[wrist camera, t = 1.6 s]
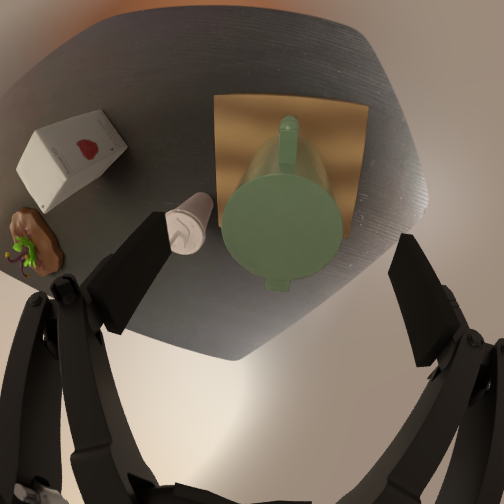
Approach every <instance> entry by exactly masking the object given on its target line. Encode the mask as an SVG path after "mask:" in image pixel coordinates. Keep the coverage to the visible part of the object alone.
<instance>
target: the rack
mask: <svg viewBox="0 0 504 504" xmlns="http://www.w3.org/2000/svg"><path fill="white" fill-rule="evenodd" d="M368 111H369V107H368V106H365V105H362V104H358V103H354V102H350V101H346V100H340V99H333V98H325V97H317V96H307V95H295V94H280V93H229V94H220V95H214V128H215V159H216V183H217V203H218V221H219V227H221V219H222V214H223V210H224V207H225V205H226V203H227V201H228V200H229V198H230V196H231V194H232V192H233V191H234V189H235V187H236V185H237V184H238V182H239V180H240V178H241V177H242V175H243V173H244V171H245V170H246V168H247V166H248V165H249V163H250V161H251V159H252V158H253V156H254V154H255V153H256V151H257V149H258V148H259V147H260V146H261V145H262V144H263V143H264V142H265V141H266V140H268V139H270V138H272V137H274V136H278V135H279V125H280V123H281V120H282V118H283V116H284V115H285V114H286V113H289V112H291V113H294V114H296V115H297V117H298V121H299V129H300V131H299V134H298V136H300V137H302V138H305V139H306V140H308V141H310V142H311V143H312V144H313V145H314V146H315V147H316V148H317V149H318V151H319V152H320V154H321V156H322V159H323V162H324V164H325V167H326V170H327V173H328V176H329V179H330V181H331V184H332V187H333V190H334V193H335V196H336V199H337V203H338V206H339V209H340V212H341V215H342V220H343V238H347V239H348V236H349V232H350V227H351V222H352V217H353V212H354V207H355V202H356V197H357V191H358V185H359V180H360V173H361V167H362V160H363V153H364V146H365V138H366V130H367V121H368Z"/></svg>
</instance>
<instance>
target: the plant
mask: <svg viewBox="0 0 504 504" xmlns="http://www.w3.org/2000/svg"><path fill="white" fill-rule="evenodd" d="M10 230H11V233H12V236H13V239H14V242H15V244H14V246H13V249H14V250H16V251H19V252H20V254H19V255H18V257H16V258H15V259H14V260H12V261H10V260H9V258H10V253H9V252H6V254H5V258H6V260H7V261H8V263H15V262H17V261H19V260H21V263H20V270H21V273H22V275H23V276H24V277H25V278H29V277H30V275H29V274H28V273H27V274H26V275H24V274H23V264H24V266H25V267H26V266H27V265H29V266H30V267H32V268H33V269H34V270H35V271H36V273H37V274H39V275H40V276H43V277H45V276H47V275H48V274H50V273H52V272H57V271H58V270H59V269H60V268H61V267H62V263H63V255H64V253H63V252H62V251H61V250H60V248H59V246H58V244H57V239H56V237H55V235H54V234H53V233H52V231H51V230H50V229H49V227H48V226H47V225H46V223H45V222H44V221H43V219H42V217H41V216H40V214H39V213H38V211H37V210H36V209H28V208H22V209H20V210H19V211H18V212H16V213H15V214H14V215H13V216H12V223H11V225H10Z"/></svg>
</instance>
